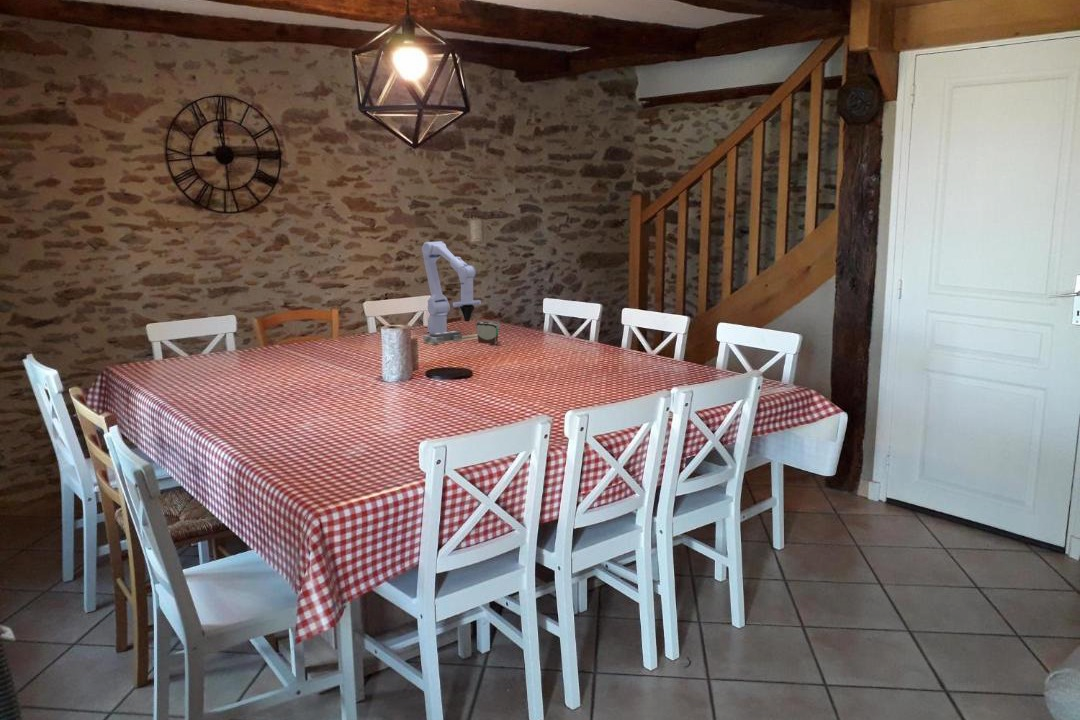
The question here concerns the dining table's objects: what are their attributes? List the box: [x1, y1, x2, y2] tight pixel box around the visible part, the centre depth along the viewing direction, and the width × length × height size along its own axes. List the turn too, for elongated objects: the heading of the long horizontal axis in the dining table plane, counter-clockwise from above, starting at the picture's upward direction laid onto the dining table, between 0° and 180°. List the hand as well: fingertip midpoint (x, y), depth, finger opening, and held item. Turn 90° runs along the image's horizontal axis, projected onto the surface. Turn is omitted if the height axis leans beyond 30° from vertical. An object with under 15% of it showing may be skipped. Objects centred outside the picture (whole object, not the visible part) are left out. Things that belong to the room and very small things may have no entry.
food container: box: [475, 320, 501, 347], centre depth 380 cm, size 12×6×10 cm, turn 58°
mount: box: [420, 333, 478, 346], centre depth 388 cm, size 10×33×3 cm, turn 129°
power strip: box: [429, 330, 462, 341], centre depth 384 cm, size 4×14×4 cm, turn 129°
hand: (467, 321), depth 390 cm, fingers closed
